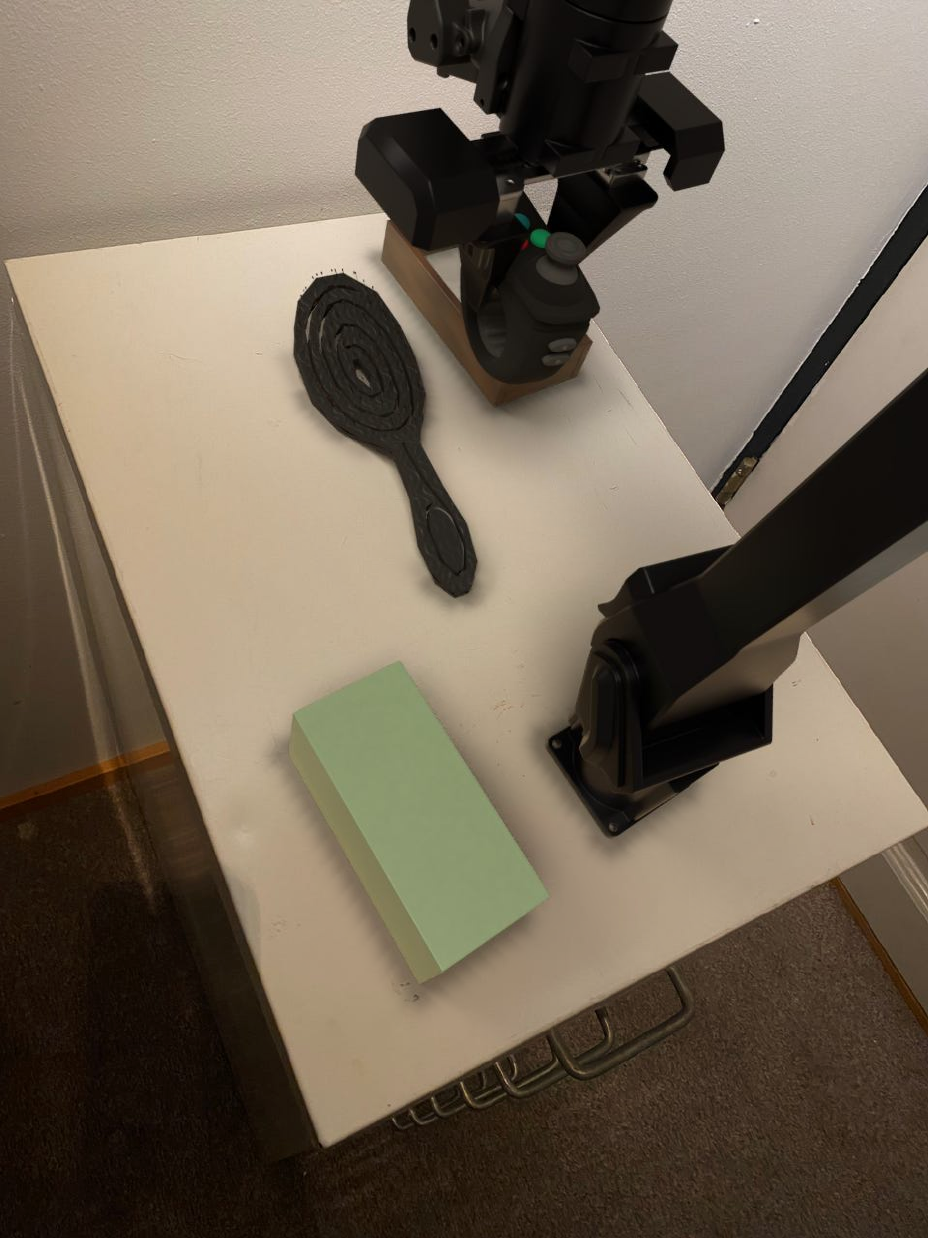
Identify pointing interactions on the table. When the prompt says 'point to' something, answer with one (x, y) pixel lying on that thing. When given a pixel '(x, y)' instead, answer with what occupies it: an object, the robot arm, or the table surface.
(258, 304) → the table surface
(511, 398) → the frame
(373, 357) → the hairbrush
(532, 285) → the controller
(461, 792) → the mint green rectangular brick
